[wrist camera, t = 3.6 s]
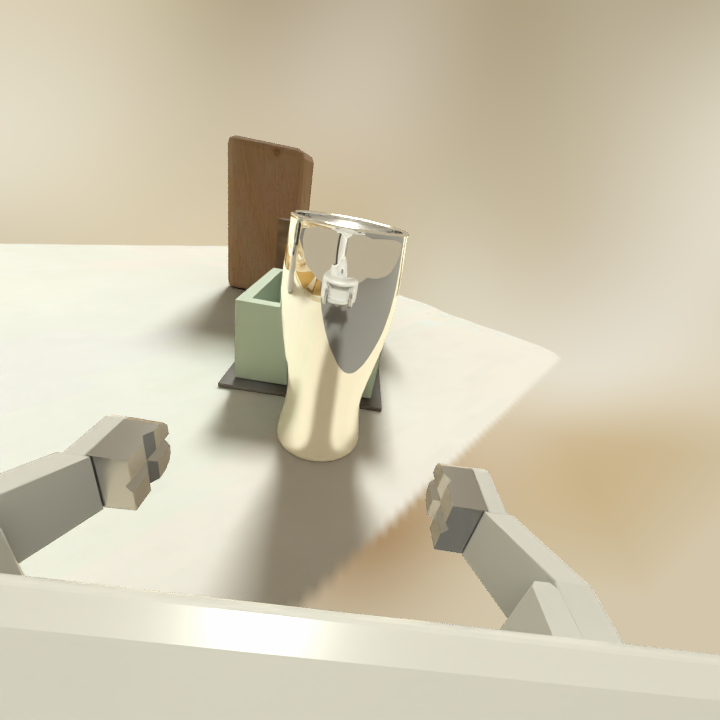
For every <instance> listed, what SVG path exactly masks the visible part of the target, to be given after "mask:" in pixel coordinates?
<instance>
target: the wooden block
mask: <svg viewBox="0 0 720 720" xmlns="http://www.w3.org/2000/svg"><path fill="white" fill-rule="evenodd" d="M313 164H314V163H313V159H312V157H310V156H309V155H308V154H306V153H304V152H303V151H301V150H300V149H298V148H294V147H289V146H284V145H280V144H275V143H270V142H265V141H260V140H255V139H250V138H245V137H241V136H232V137H230V138H229V142H228V279H229V284H230V285H232V286H234V287H237V288H243V289H248V288H250V287H251V286H252V285H253V284H254V283H256V282H257V281H258V280H259V279H260V278H262V277H263V276H264V275H265V274H267V273H268V272H269V271H270V270H271V269H273V268H275V264H276V248H277V231H278V219H279V218H282V217H283V218H288V219H290V212H291V211H292V210H309V205H310V194H311V185H312V173H313Z"/></svg>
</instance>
